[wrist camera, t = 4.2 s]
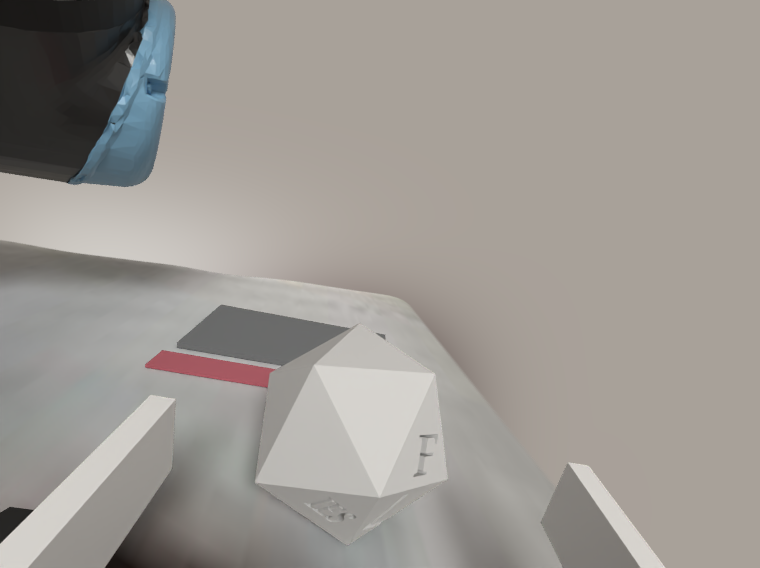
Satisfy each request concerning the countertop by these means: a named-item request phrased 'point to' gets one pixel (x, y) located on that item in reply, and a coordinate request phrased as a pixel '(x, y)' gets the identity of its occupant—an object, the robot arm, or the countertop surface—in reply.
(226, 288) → the countertop surface
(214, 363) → the line
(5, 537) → the robot arm
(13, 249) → the countertop surface
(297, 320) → the mat
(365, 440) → the die
